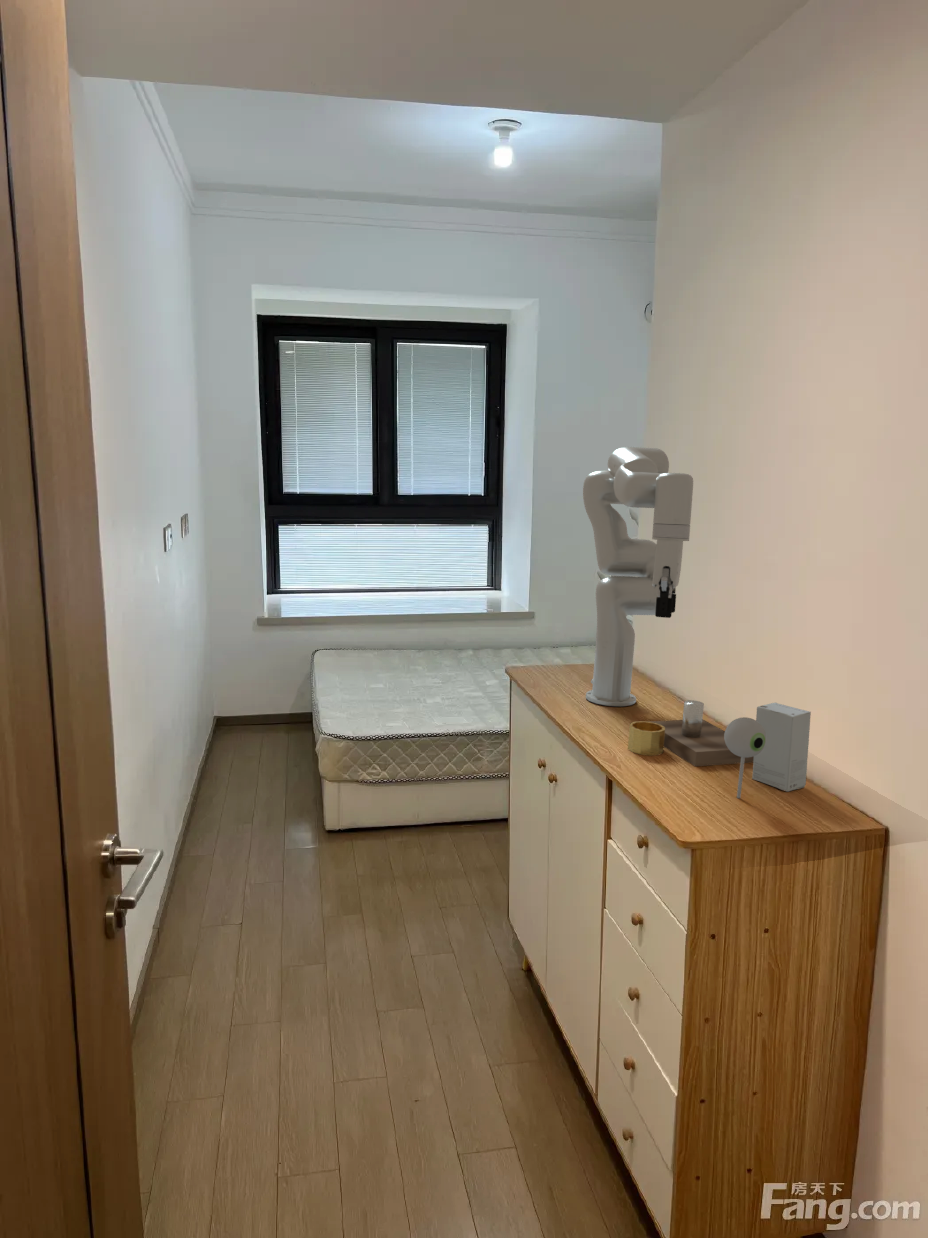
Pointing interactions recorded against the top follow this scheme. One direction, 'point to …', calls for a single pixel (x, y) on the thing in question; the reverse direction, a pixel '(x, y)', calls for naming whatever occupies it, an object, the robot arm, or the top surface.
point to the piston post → (692, 719)
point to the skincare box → (783, 747)
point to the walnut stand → (699, 745)
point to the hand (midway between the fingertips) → (665, 614)
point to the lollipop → (744, 741)
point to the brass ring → (646, 738)
